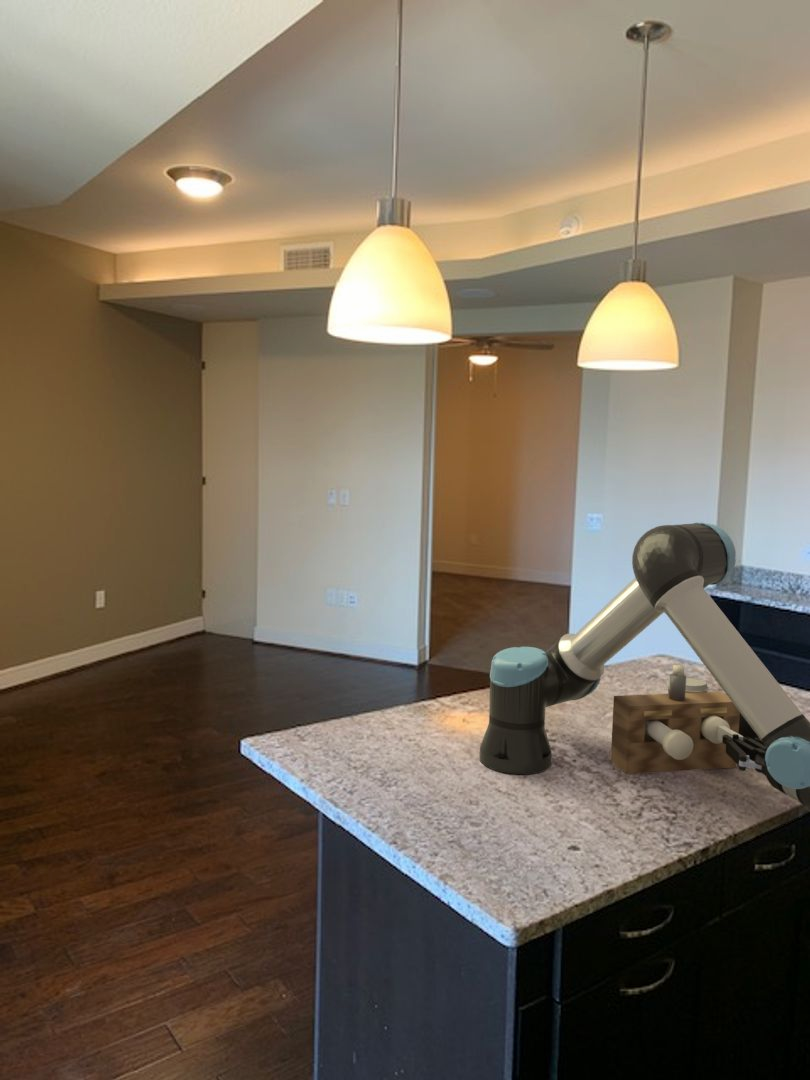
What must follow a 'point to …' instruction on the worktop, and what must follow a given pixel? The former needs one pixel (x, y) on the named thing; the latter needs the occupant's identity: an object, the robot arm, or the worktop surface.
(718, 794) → the worktop surface
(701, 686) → the disposable coffee cup
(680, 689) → the grey bottle
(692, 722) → the mount
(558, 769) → the worktop surface
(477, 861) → the worktop surface
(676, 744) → the knob
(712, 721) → the knob
